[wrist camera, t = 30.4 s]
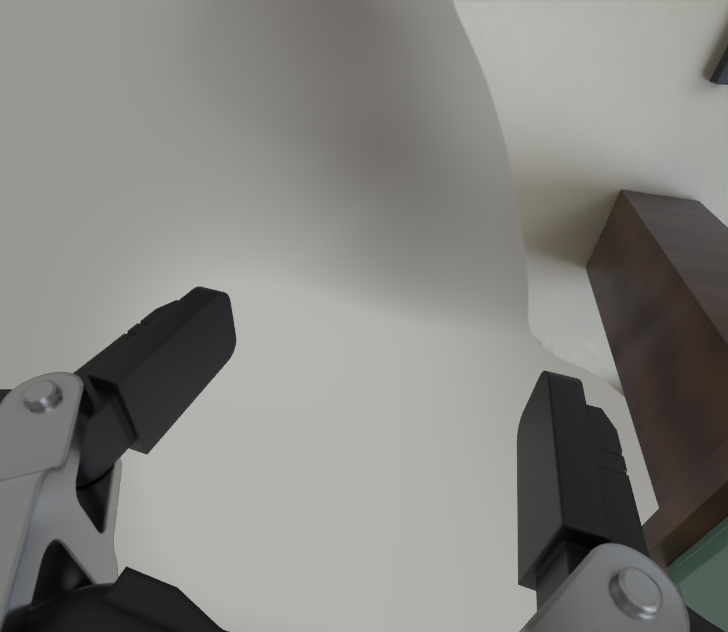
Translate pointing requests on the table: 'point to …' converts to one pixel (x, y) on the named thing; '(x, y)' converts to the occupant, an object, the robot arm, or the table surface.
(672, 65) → the table surface
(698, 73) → the table surface
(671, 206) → the stand
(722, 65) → the pen
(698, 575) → the grey-green hollow box
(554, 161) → the table surface
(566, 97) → the table surface
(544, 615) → the robot arm
